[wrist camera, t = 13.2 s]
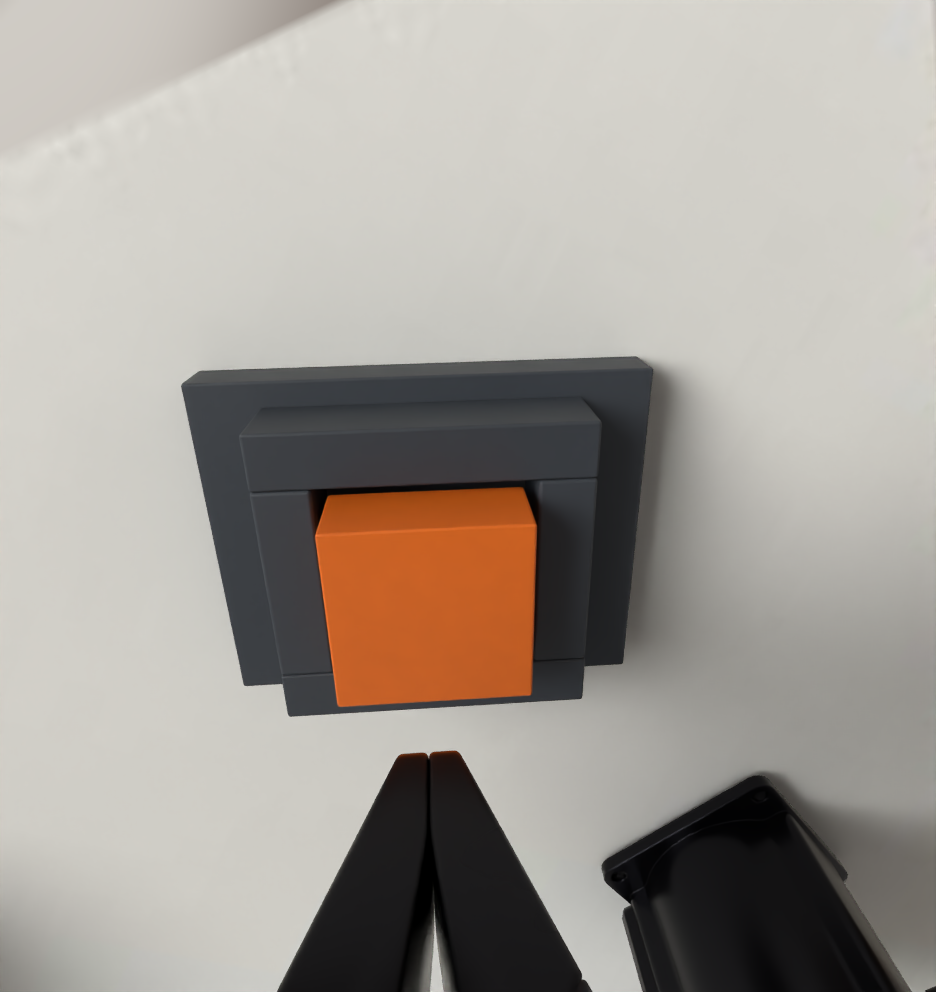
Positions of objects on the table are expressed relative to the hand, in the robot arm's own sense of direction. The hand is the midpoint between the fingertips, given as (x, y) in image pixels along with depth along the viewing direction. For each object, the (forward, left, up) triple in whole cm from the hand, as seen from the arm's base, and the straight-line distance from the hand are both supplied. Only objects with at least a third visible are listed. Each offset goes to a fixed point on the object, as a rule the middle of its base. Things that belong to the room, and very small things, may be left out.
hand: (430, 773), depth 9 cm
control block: (0, 0, -8) cm, 8 cm away
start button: (0, 0, -6) cm, 6 cm away
